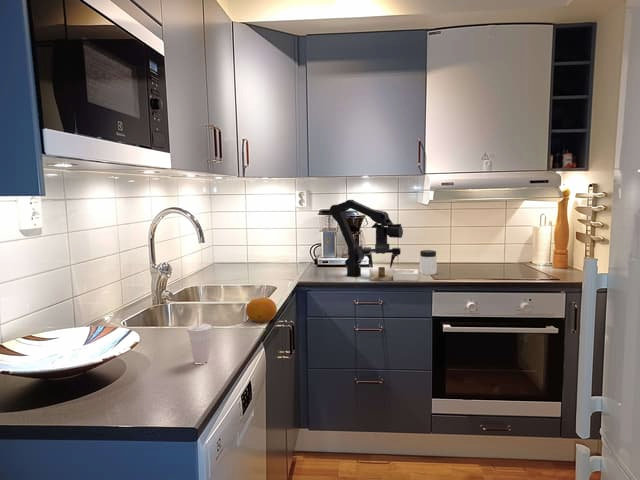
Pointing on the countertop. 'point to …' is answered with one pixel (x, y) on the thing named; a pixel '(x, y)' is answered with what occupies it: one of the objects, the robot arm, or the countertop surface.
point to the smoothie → (200, 341)
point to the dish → (405, 275)
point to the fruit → (261, 309)
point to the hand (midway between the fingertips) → (381, 267)
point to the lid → (381, 275)
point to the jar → (428, 262)
